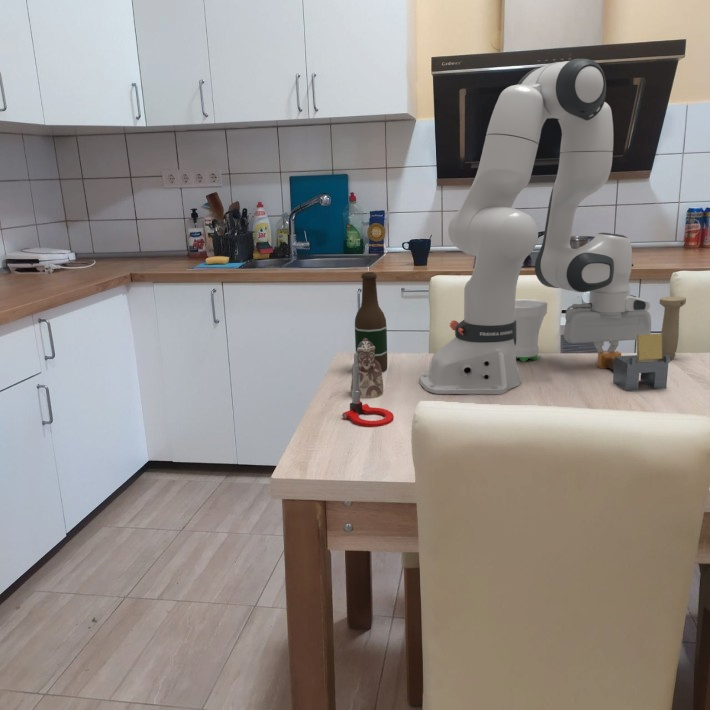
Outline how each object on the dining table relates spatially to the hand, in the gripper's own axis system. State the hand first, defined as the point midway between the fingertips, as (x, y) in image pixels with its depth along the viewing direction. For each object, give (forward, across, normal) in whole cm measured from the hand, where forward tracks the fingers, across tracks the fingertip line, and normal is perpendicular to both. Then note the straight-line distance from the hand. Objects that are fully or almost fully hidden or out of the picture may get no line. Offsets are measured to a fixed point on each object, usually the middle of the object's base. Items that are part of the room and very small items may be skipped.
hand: (605, 358), depth 162 cm
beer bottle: (+2, -56, +8) cm, 56 cm away
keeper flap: (-8, 0, -20) cm, 21 cm away
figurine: (+2, -59, -10) cm, 60 cm away
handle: (+2, +17, +2) cm, 17 cm away
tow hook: (+2, -60, -26) cm, 66 cm away
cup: (+2, -17, +10) cm, 20 cm away
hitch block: (+2, 0, -17) cm, 17 cm away
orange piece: (+2, 0, -7) cm, 7 cm away
